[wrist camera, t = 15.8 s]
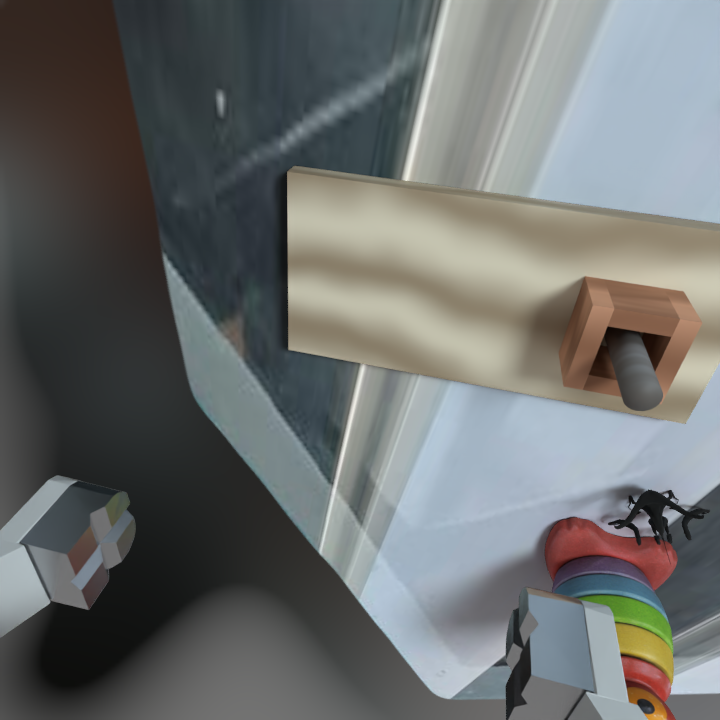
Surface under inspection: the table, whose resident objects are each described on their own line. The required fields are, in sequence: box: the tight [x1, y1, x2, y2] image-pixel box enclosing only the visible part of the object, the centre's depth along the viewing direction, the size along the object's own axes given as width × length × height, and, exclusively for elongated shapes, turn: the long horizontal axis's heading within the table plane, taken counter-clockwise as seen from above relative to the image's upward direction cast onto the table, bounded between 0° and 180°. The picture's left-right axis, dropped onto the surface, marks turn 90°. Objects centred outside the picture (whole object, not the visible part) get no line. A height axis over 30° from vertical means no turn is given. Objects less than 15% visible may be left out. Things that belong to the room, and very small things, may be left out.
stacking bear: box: [545, 517, 677, 720], centre depth 44 cm, size 11×10×18 cm
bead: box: [559, 276, 702, 404], centre depth 34 cm, size 6×6×4 cm
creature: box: [608, 490, 710, 565], centre depth 44 cm, size 8×5×8 cm
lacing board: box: [287, 166, 720, 424], centre depth 34 cm, size 14×30×10 cm, turn 86°
